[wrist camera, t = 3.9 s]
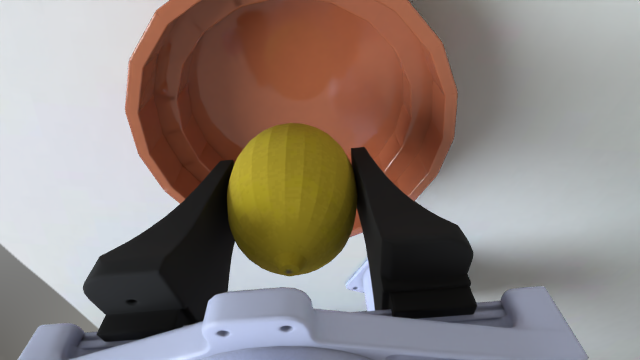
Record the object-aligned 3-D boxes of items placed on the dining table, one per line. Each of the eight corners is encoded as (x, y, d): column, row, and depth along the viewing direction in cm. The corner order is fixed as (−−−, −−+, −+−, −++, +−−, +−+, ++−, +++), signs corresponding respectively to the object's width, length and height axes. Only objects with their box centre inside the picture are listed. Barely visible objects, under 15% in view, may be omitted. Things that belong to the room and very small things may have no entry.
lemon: (255, 78, 15) (218, 199, 9) (365, 112, 16) (399, 238, 10) (234, 168, 18) (198, 301, 12) (327, 190, 20) (335, 320, 13)
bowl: (489, 35, 18) (533, 67, 14) (351, 220, 27) (357, 265, 24) (186, -136, 13) (143, -148, 10) (145, 159, 23) (117, 205, 19)
